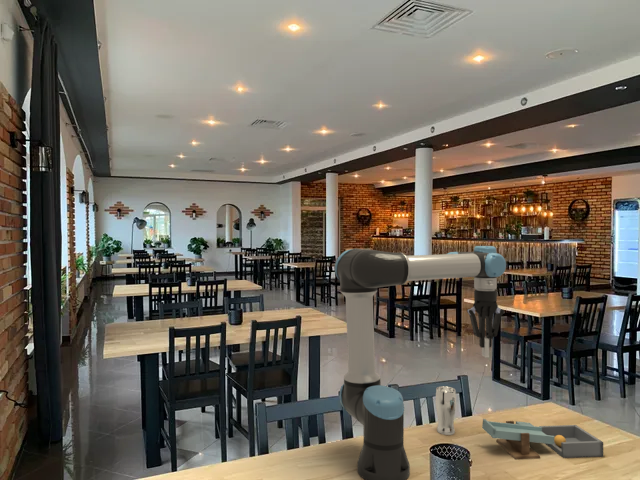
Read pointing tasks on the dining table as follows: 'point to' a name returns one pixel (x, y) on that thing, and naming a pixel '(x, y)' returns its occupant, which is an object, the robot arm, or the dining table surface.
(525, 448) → the fulcrum
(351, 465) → the dining table surface
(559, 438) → the ball
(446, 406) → the beer glass
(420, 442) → the dining table surface
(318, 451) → the dining table surface
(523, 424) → the lever
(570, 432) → the grey shallow open box
